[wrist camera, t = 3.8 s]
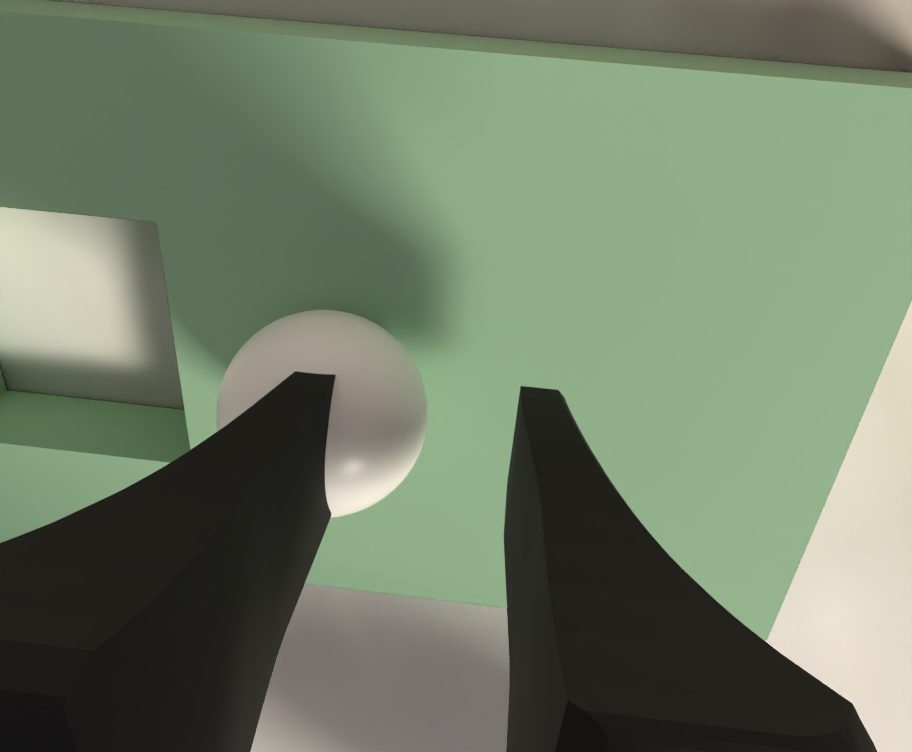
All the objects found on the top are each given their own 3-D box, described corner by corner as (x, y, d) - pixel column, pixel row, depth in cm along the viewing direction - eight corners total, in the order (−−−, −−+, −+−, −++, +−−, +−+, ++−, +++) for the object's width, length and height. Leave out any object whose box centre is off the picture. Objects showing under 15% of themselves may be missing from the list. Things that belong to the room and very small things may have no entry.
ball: (478, 356, 11) (243, 375, 10) (446, 540, 13) (239, 583, 11) (392, 278, 14) (198, 281, 13) (375, 436, 16) (200, 458, 14)
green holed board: (935, 74, 12) (1061, 116, 9) (746, 576, 19) (785, 696, 16) (-282, -28, 14) (-514, -19, 11) (-80, 478, 20) (-190, 575, 17)
